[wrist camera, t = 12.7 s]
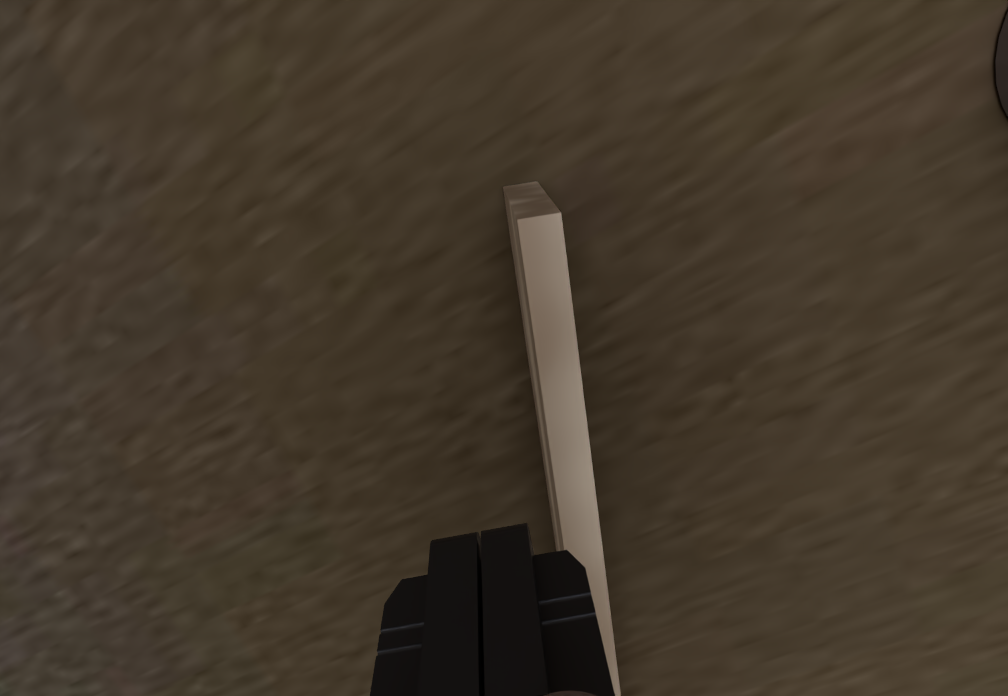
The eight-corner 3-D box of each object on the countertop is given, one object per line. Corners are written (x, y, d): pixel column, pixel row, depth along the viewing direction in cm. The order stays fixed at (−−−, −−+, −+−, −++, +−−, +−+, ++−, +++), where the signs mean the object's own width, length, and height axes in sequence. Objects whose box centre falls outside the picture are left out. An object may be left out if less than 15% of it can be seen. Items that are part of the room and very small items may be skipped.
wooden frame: (537, 181, 34) (579, 236, 23) (619, 804, 47) (673, 1040, 35) (215, 232, 34) (98, 312, 23) (383, 843, 46) (361, 1092, 35)
